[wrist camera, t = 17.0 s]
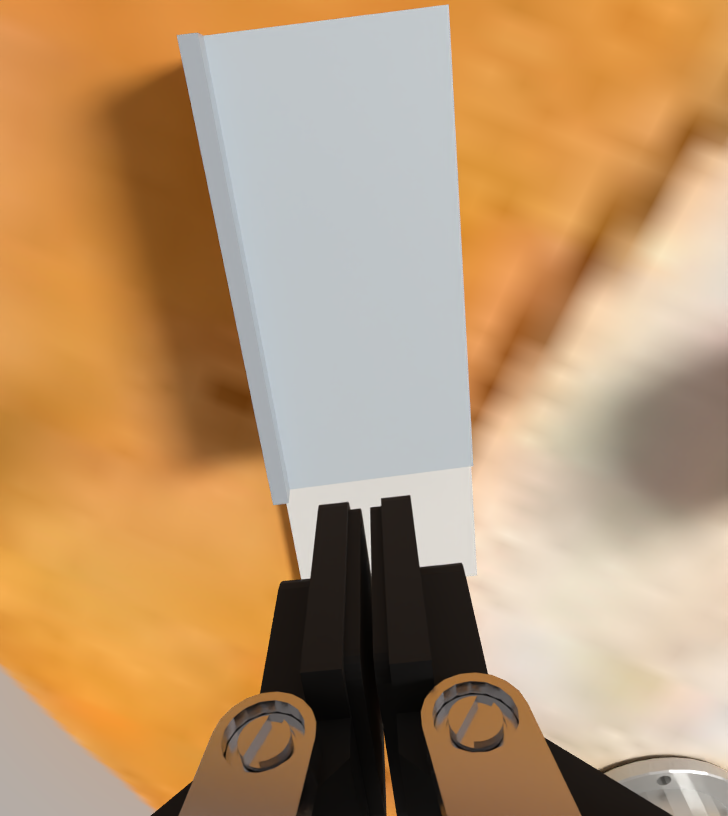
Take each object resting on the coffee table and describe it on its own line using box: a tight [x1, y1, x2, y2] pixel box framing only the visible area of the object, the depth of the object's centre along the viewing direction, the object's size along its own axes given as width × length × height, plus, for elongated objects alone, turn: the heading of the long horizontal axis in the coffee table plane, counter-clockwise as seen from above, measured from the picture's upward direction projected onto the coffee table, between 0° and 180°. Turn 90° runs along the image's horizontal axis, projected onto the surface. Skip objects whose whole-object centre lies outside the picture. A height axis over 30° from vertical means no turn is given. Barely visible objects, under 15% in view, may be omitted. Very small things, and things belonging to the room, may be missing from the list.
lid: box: [177, 5, 473, 505], centre depth 23 cm, size 16×8×2 cm, turn 7°
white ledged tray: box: [287, 466, 477, 579], centre depth 28 cm, size 25×9×4 cm, turn 7°
